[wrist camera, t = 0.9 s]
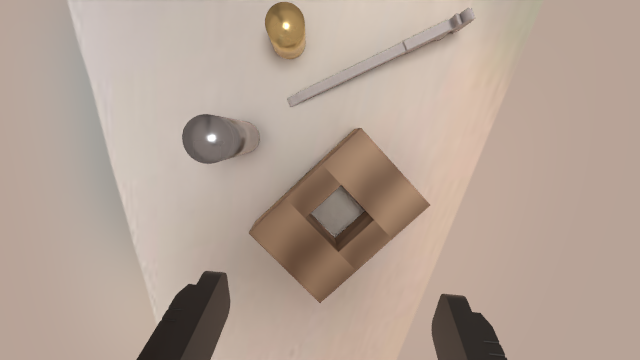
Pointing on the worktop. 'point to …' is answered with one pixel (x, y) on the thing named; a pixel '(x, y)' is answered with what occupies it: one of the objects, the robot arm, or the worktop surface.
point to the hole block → (360, 236)
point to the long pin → (218, 138)
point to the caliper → (387, 55)
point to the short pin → (286, 29)
